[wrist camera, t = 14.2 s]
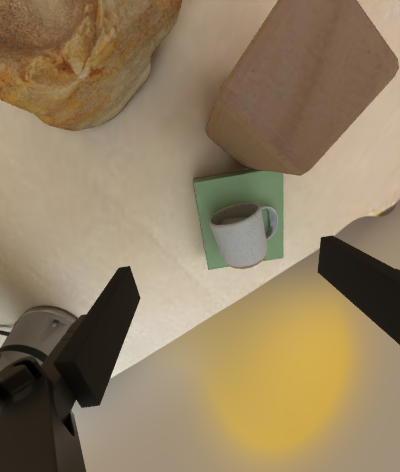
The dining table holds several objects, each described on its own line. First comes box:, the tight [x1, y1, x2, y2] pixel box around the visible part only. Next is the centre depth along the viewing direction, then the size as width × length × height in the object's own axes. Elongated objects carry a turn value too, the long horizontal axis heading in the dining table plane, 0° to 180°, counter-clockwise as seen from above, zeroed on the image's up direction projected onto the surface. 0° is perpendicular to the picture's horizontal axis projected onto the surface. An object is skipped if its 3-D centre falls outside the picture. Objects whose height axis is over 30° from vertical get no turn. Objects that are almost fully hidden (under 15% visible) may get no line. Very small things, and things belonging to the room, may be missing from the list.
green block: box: [193, 169, 283, 270], centre depth 35 cm, size 14×16×6 cm
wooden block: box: [206, 0, 399, 175], centre depth 23 cm, size 10×10×20 cm
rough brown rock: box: [0, 0, 182, 131], centre depth 21 cm, size 23×17×15 cm
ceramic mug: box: [209, 203, 278, 269], centre depth 29 cm, size 11×8×8 cm
